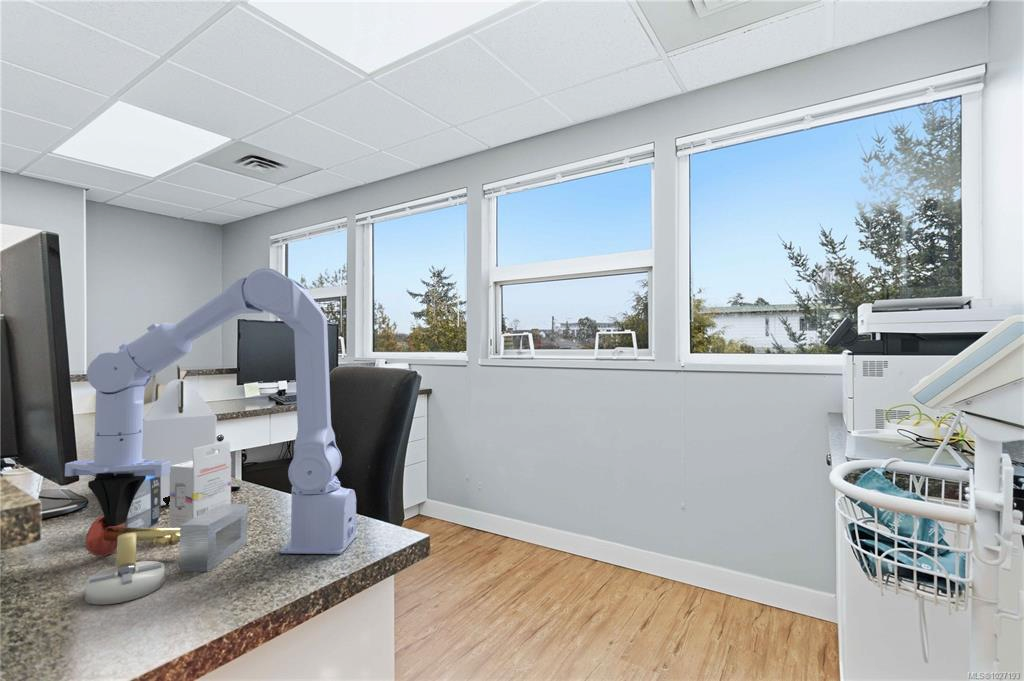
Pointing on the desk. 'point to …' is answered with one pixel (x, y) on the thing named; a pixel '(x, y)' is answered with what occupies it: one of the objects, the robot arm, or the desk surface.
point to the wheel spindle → (126, 569)
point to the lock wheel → (124, 577)
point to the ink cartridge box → (200, 483)
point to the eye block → (212, 537)
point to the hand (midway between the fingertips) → (116, 524)
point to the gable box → (175, 421)
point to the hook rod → (105, 537)
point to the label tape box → (146, 504)
